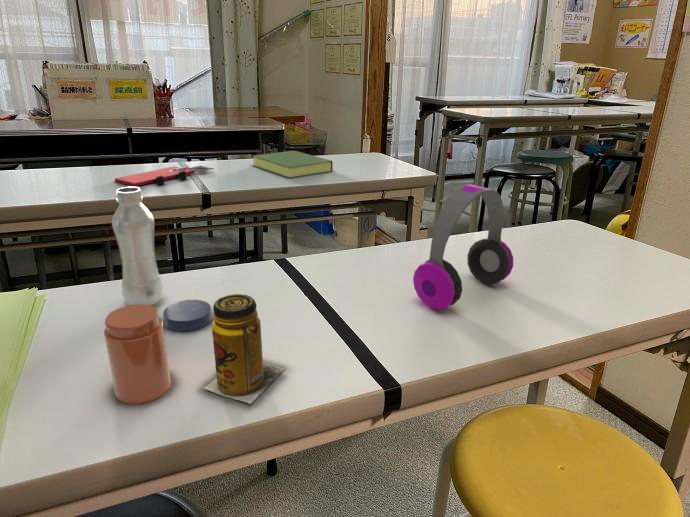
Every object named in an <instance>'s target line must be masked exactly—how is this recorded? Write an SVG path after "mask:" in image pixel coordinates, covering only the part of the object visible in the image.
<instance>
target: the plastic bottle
mask: <svg viewBox="0 0 690 517" xmlns="http://www.w3.org/2000/svg"><path fill="white" fill-rule="evenodd" d="M115 193H116V203H117V204H118V207H117V209H116V210H115V212H114V214H113V216H112V219H111V227H112V230H113V234H114V237H115V241H116V244H117V246H118V251H119V255H120V260H121V273H122V274H121V275H122V276H121V277H122V280H121V281H122V282H121V294H122V297H123V300H124V302H125V303H126V304H127V305H128V306H129V305H136V304H145V305H150V306H153V305H154V304H156V303H158V302H159V301H160V300H161V298H162V296H163V292H164V291H163V290H164V285H163V282H162V278H161V275H160V273H159V269H158V264H157V260H156V252H155V217H154V216H153V214H152V212H151V211H150V209H148V208H147V207H146V205H144V203H142V202H143V199H144V198H143V196H142V190H141V188H140V187H139V186H135V187H134V186H124V187H120V188H118V189H116V191H115Z"/></svg>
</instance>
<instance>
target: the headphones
mask: <svg viewBox="0 0 690 517" xmlns="http://www.w3.org/2000/svg"><path fill="white" fill-rule="evenodd" d="M478 197H481V198H482V199H483V201H484V204H485V206H486V209H487V216H488V231H487V232H488V234H487V238H482V239H480V240H477V241H475V242H474V243H473V244H472V245H471V246H470V247H469V250H468V253H467V255H466V256H467V257H466V259H467V266H468V269H469V272H470V274H471V275H472V276H473V277H474V279H475V280H477V281H479V282H480V283H482V284H485V285H495V284H497V283H500V282H501V281H504V280H505V279H507V278H508V276H510V274H511V272H512V270H513V268H514V256H513V253H512V250H511V248H510V247H509V246H508V245H507V243H506V242H504V241H502V232H503V225H504V214H505V213H504V212H505V211H504V210H505V209H504V202H503V199H502V197H501V195H500V193H499V192H498V191H496V190H495V189H492V188H488V187H485V186H479V185H474V184H461V185H459V186H457V187H456V188H454V189H453V190H452V191H451V193H450V194H449V195H447V197H446V199H445V201H444V203H443V204H442V207H441V208H440V212H439V215H438V217H437V221H436V225H435V229H434V231H433V235H432V239H431V244H430V251H429V258H428V259H427V260H425V261H424V262H423V263H420V264H419V265H418V267H417V268H416V270H414V272H413V278H412V281H413V282H412V283H413V288H414V291H415V292H416V295H417V297H418V298H419V299H420V301H421V302H422V303H423V304H425V305H426V306H427V307H428V308H431V309H433V310H443V309H447V308H449V307H450V306H453V305H455V304H456V303H457V302H458V301H459V300H460V299H461V296H462V293H463V284H462V278H461V277H460V274H459V272H458V270H457V269H456V268H455V267H454V266H453V264H452V263H451V262H448V261H447V260H445V259H444V254H445V249H446V245H447V243H448V241H449V239H450V236H451V235H452V234H451V233H452V232H453V229H454V227H455V226H456V224H457V222H458V221H459V219H460V217H461V216H462V215H463V213H464V212H465V211H466V209H467V208H468V206H469V205H470V204H471V203H473V202H474V201H475V200H476V199H477V198H478Z"/></svg>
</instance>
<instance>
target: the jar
mask: <svg viewBox="0 0 690 517" xmlns="http://www.w3.org/2000/svg"><path fill="white" fill-rule="evenodd" d="M163 321H164V320H163V319H162V318H160V316H159V311H158V308H156V306H153V305H145V304H136V305H129V304H128V305H124V306H121V307H118V308H116V309H114V310H113V311H110V312H109V313H108V314H107V316H106V317H105V320H104V326H105V328H104V331H103V335H104V341H105V346H106V347H105V348H106V352H107V358H108V362H109V368H110V373H111V379H112V385H113V390H114V395H115V397H116V399H117V400H118V401H120V402H122V403H125V404H133V405H138V404H144V403H145V404H146V403H148V402H152V401H154V400H156V399H158V398H160V397H162V396H163V395H165V394H166V393H167V392H168V391H169V389H170V387H171V385H172V381H171V373H170V364H169V358H168V350H167V342H166V336H165V334H166V333H165V328H164V327H165V326H164V322H163Z"/></svg>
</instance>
